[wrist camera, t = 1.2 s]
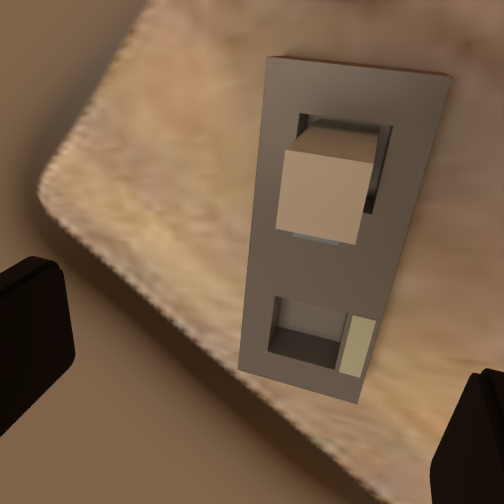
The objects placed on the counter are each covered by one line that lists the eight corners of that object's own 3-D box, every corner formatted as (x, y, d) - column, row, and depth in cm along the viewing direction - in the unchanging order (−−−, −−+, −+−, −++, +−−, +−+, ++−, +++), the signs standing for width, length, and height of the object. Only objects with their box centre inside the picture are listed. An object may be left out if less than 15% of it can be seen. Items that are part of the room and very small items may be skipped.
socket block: (443, 73, 25) (452, 76, 21) (360, 370, 36) (357, 405, 32) (282, 55, 27) (266, 56, 23) (251, 340, 38) (237, 370, 35)
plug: (379, 126, 26) (373, 163, 18) (364, 193, 29) (352, 255, 20) (318, 118, 27) (285, 149, 19) (307, 184, 30) (274, 239, 21)
